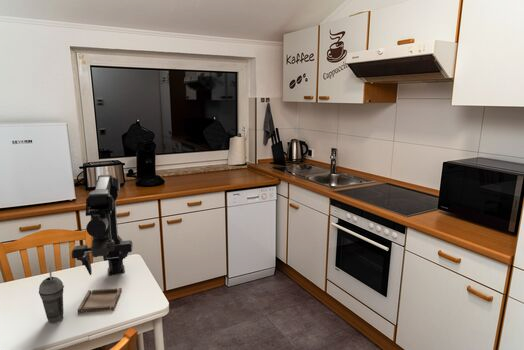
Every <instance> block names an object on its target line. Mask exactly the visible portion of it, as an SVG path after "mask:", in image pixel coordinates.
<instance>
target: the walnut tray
mask: <svg viewBox="0 0 524 350" xmlns="http://www.w3.org/2000/svg"><path fill="white" fill-rule="evenodd" d="M122 292H123V290H122V287H120V288H119V287H118V288H117V287H116V288H104V289H103V288H101V289H88V290H87V292H86V294H85V296H84V297H83V299H82V301H81V303H80V304H79V306H78V308H77V314H88V313H99V312H100V313H101V312H103V313H104V312H114V311H115V309H116V307H117V304H118V302H119V300H120V298H121V296H122V295H121V294H122Z"/></svg>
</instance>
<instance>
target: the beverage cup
mask: <svg viewBox="0 0 524 350" xmlns="http://www.w3.org/2000/svg"><path fill="white" fill-rule="evenodd" d="M48 269H49V271H48V272H49V277H46V278H44V279H43V280H42V281H41V283H40V284H39V287H38V294H39V297H40V298H41V301H42V305H43V309H44V312H45V316H46V319H47V321H48V323H49V324H50V325H51V324H52V325H54V324H57V323H59V322H61V321H63V319H64V314H65V313H64V287H65V285H64V283H63V282H62V280H61V279H60V278H59V277H56V276H53V275H52V266H49V267H48Z"/></svg>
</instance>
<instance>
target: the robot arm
mask: <svg viewBox="0 0 524 350" xmlns="http://www.w3.org/2000/svg"><path fill="white" fill-rule="evenodd" d="M120 192H121V184H120V181H119V179H118V178H115V177H114V176H113V174H99V175H97V180H96V181H95V189H94V190H91V191H90V192H89V194H88V196H86V201H85V217H90V220H89V222H88V223H87V225H86V229H85V230H86V232H87V234H88V235H89V236H91V237H92V242H91V246H90V247H88V245H87V244H82V245H75V246H74V247H73V249H72V250H71V259H76V260H77V261H81V263H83V265H84V266H85V269H86V270H87V272H88V275H89V276H92V270H93V269H92V264H91V258H90V254H91V256H92V258H98V257H103V261H104V262H105V261H106V262H108V263H107V264H108V268H107V274H108V276H112V275H118V274H124V273H126V269H125V264H124V260H125V259H126V258H127V257H128V255H129V253H131V252H133V248H134V247H133V245H134V244H133V241H132V240H131V239H129V240H123V239H122V237H120V235H119V231H118V216H117V204H116V200H117V199H118V197H119V194H120Z"/></svg>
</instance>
